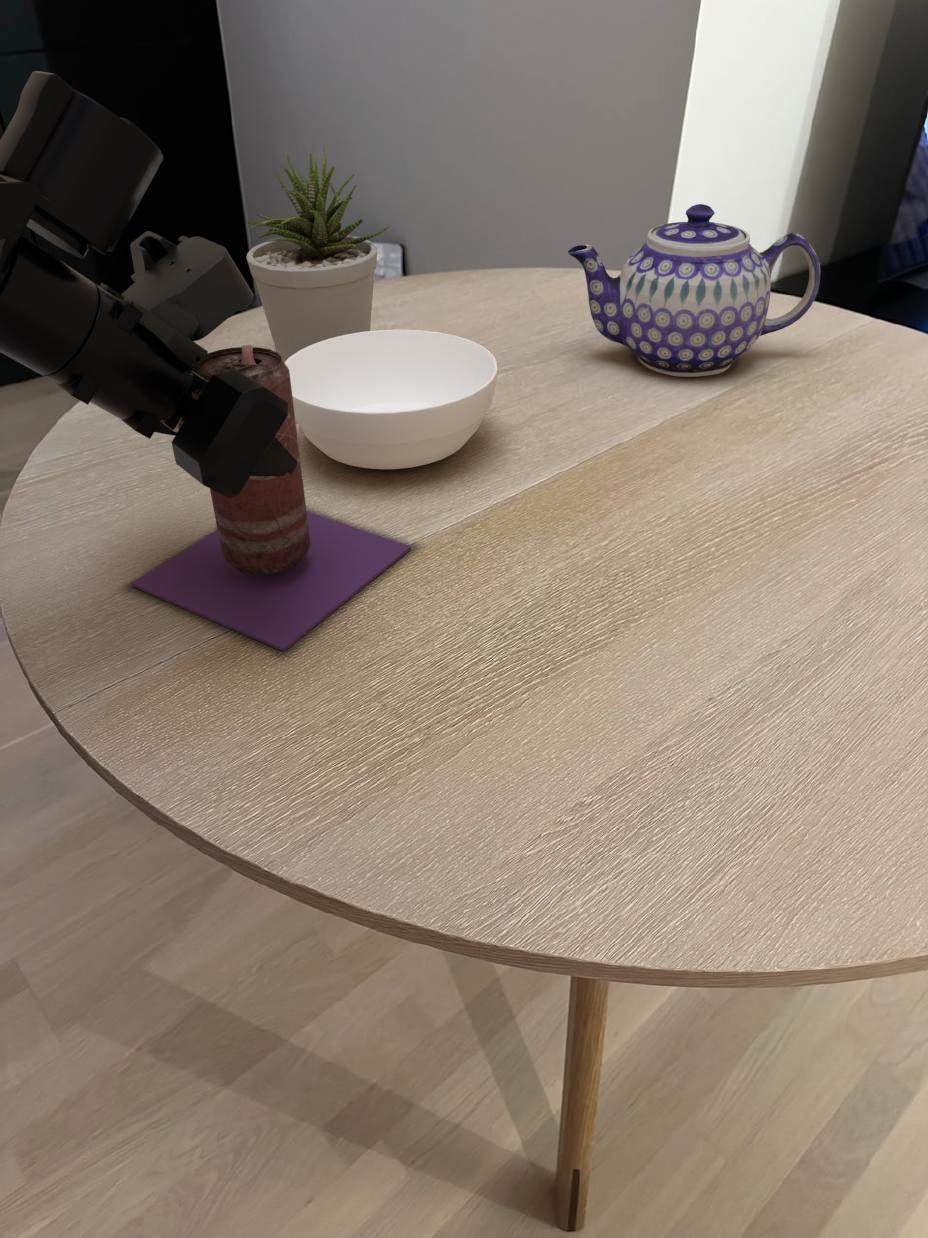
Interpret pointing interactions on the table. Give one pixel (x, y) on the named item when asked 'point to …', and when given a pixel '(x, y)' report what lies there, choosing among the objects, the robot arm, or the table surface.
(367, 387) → the bowl
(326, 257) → the potted plant
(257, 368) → the can
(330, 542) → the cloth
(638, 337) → the teapot
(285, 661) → the table surface
